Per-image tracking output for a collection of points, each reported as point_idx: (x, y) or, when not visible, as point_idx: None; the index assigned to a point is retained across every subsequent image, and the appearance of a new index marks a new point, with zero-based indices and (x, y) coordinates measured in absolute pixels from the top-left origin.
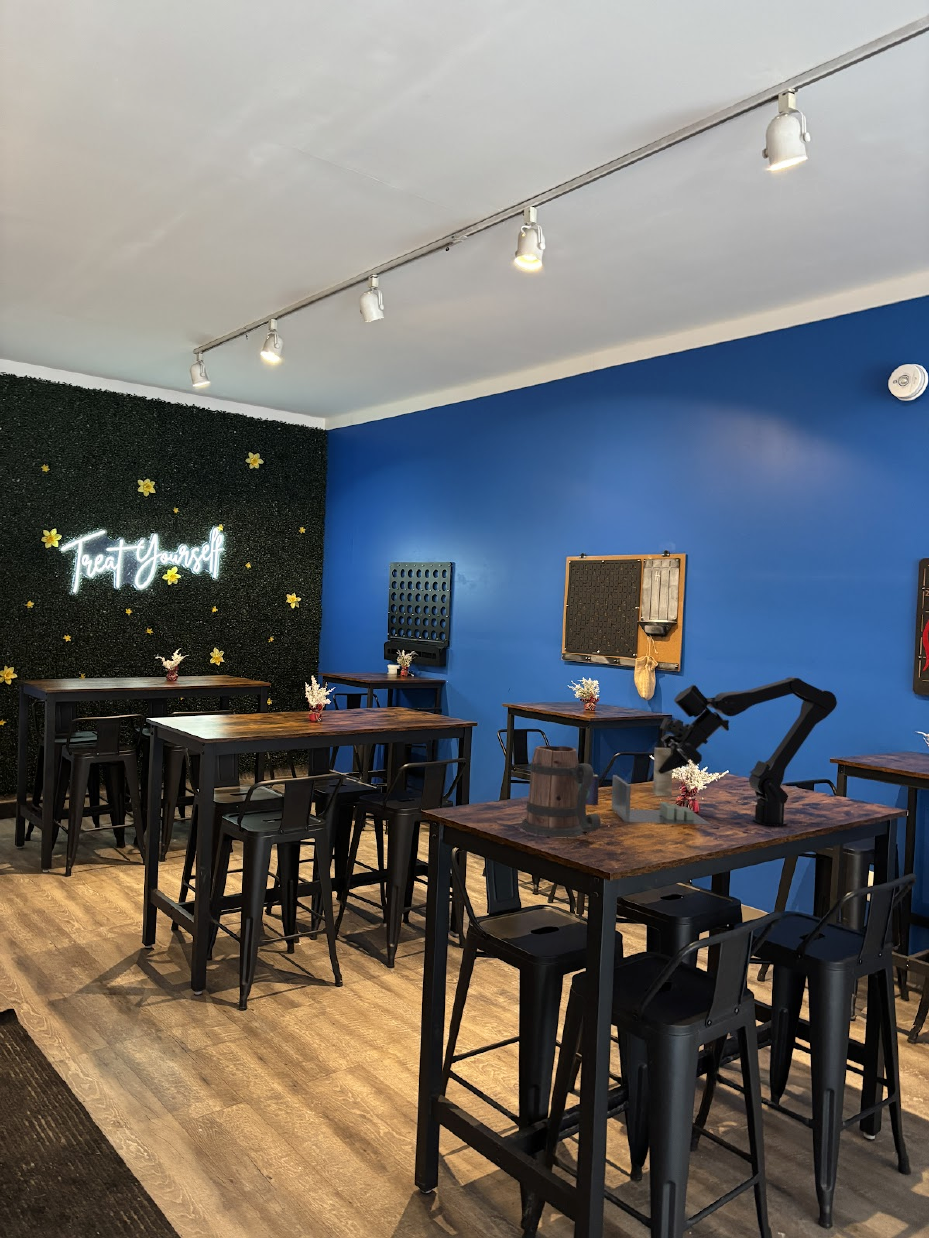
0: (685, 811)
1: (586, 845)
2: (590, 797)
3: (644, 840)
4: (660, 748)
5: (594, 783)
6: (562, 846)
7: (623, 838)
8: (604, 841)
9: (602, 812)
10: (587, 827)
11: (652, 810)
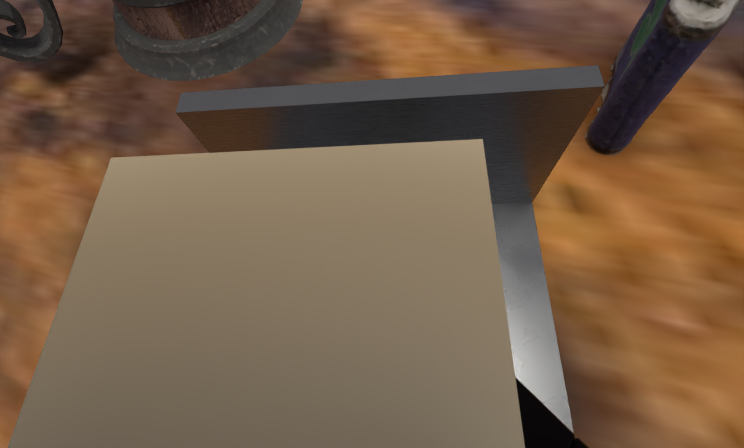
0: None
1: (36, 66)
2: (610, 94)
3: (43, 226)
4: (299, 301)
5: (644, 49)
6: (43, 20)
7: (85, 166)
8: (64, 110)
9: None
10: (42, 37)
11: (548, 394)
